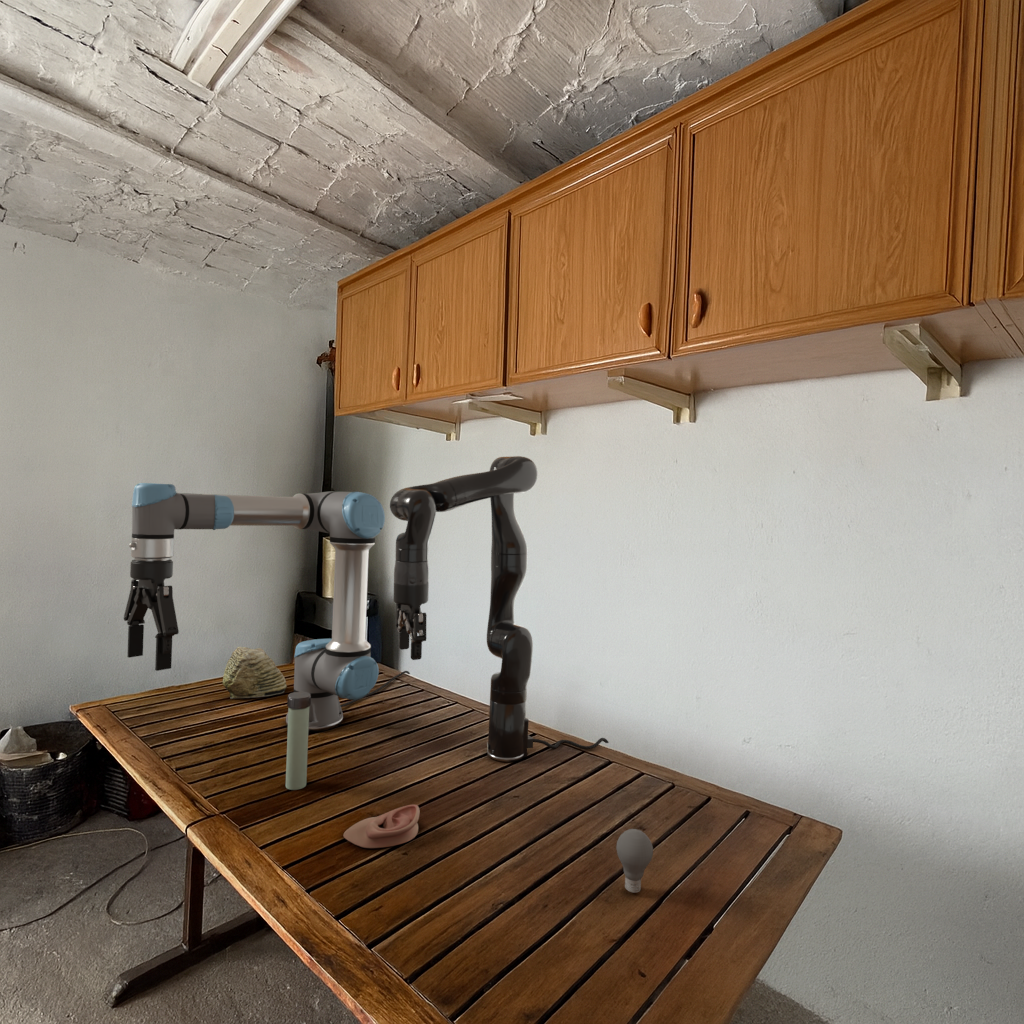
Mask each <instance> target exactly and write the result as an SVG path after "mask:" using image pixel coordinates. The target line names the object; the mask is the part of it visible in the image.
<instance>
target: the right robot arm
mask: <svg viewBox="0 0 1024 1024" xmlns="http://www.w3.org/2000/svg"><path fill="white" fill-rule="evenodd" d="M538 476H539V475H538V468H537V465H536V463H535V462H534V460H532V459H531V458H529V457H526V456H520V455H515V456H514V455H513V456H499V457H496V458H495V459H494V460H493V461H492V463H491V464H490V467H489V470H488V471H483V472H475V473H469V474H462V475H457V476H453V477H449V478H446V479H445V478H444V479H442V480H439V481H436V482H432V483H428V484H427V483H426V484H420V485H413V486H408V487H405V488H401V489H399V490H398V491H396V492H395V493H394V494H393V495H392V496H391V499H390V501H389V509H390V512H391V514H392V515H393V516H394V517H395V518H396V519H398V520H401V521H405V522H406V528H405V530H404V532H401V533H399V534H398V535H397V537H396V539H395V560H394V569H393V602H394V603H395V625H394V626H395V628H397V632H398V649H400V650H408V649H409V648H410V659H411V660H412V661H418V660H421V659H422V653H423V652H422V651H423V642H426V641H427V612H423V611H422V610H421V606H422V605H425V604H427V603H428V602H429V593H430V592H429V587H430V580H429V579H430V568H429V541H430V538H431V535H432V531H433V527H434V523H435V520H436V514H437V513H444V512H450V511H452V510H455V509H459V508H462V507H464V506H468V505H471V504H474V503H477V502H480V501H483V500H486V499H490V510H491V511H490V512H491V547H490V597H489V599H490V600H489V612H488V618H487V619H488V622H487V627H486V646H487V649H488V651H489V652H490V654H491V655H492V656H494V657H496V658H499V659H501V667H500V671H498V672H495V673H493V674H492V675H491V677H490V687H489V688H490V689H489V712H488V713H489V714H488V717H489V718H488V735H487V740H486V747H487V750H486V755H487V756H488V757H489V758H490V759H491V760H494V761H497V762H502V763H503V762H504V763H513V762H517V761H520V760H522V759H523V758H527V757H528V749H533V748H534V743H538V744H541V745H545V746H546V747H548V748H549V749H553V750H555V749H557V748H558V747H559V746H560V745H561V744H566V745H567V744H568V745H571V746H573V747H575V748H577V749H581V750H585V751H586V750H587V751H588V750H589V751H590V750H593V749H596V748H597V747H598V746H599V745H600V744H601V743H602V742H604V743H605V744H609V740H607V738H605V737H600V738H598V740H596V742H595V743H593V744H591V745H582V744H579V743H578V742H575V741H572V740H568V739H560V740H558V741H556V742H555V744H551V743H550V742H548V741H546V740H544V739H540V738H539V739H538V738H534V737H532V736H530V735H529V723H530V720H529V718H528V717H527V698H528V697H527V696H528V695H527V694H528V693H527V692H528V682H529V680H530V677H531V675H532V663H533V654H534V640H533V635H532V633H531V631H530V630H529V629H528V628H527V627H525V626H523V625H520V624H516V623H515V603H516V599H517V597H518V594H519V592H520V589H521V588H522V586H523V584H524V581H525V580H526V577H527V573H528V563H529V561H528V559H529V558H528V553H529V551H528V550H529V549H528V547H529V546H528V541H527V539H526V537H525V534H524V532H523V530H522V528H521V525H520V523H519V521H518V519H517V515H516V510H515V494H524V493H527V492H529V491H531V490H532V489H533V488H534V487H535V486H536V484H537V481H538V478H539V477H538Z"/></svg>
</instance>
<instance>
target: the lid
mask: <svg viewBox="0 0 1024 1024" xmlns="http://www.w3.org/2000/svg"><path fill="white" fill-rule="evenodd" d="M286 701H287V703H286V706H287V708H288V707H289V708H291V709H303V708H307V707H309V706H310V705H311V694H310V693H308V692H294V691H293V692H290V693H289V694H288V695H287V699H286Z"/></svg>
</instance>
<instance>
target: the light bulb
mask: <svg viewBox="0 0 1024 1024" xmlns="http://www.w3.org/2000/svg"><path fill="white" fill-rule="evenodd" d="M615 849H616V854H617V857H618V859H619V861H620V863H621V865H622V867H623V873H624V874H623V875H624V876H625V878H624V888H625V890H627V891H628V892H630V893H634V894H635V893H639V892H640V891H641V889H642V887H641V886H642V879H643V877H644V875H645V871H646V868H647V867H648V866H649V864H650V863H651V861H652V859H653V855H654V847H653V843H652V841H651V838H649V836H648V835H647V834H646V833H645V832H643V831H642V830H641V829H636V828H629V829H627V830H625V831H623V832H622V833H621V834H620V835H619V837H618V839H617V841H616V847H615Z"/></svg>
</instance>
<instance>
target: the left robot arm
mask: <svg viewBox="0 0 1024 1024" xmlns="http://www.w3.org/2000/svg"><path fill="white" fill-rule="evenodd" d="M385 515H386V513H385V511H384V508H383V505H382V503H381V502H380V501H379V500H378V498H377V497H375V495H373V494H370V493H367V492H363V491H362V492H361V491H337V490H336V491H335V490H333V491H332V490H330V491H321V492H311V493H295V494H294V495H293V496H276V495H275V496H274V495H273V496H272V495H248V494H247V495H246V494H244V495H243V494H220V493H219V494H218V493H217V494H216V493H215V494H214V493H189V492H187V493H186V492H177V491H176V486H175V485H174V484H173V483H152V482H139V483H137V484H136V485H135V486H134V488H133V492H132V501H131V520H132V521H131V542H130V543H128V547H129V548H130V549H131V550H130V556H131V558H133V559H132V560H131V561H130V567H129V568H130V571H129V574H130V575H129V576H130V578H131V581H130V590H129V594H128V598H127V603H126V607H125V610H124V615H123V621H124V622H126V624H127V626H128V629H127V630H128V631H127V658H135V657H142V656H144V635H145V634H144V630H145V625H144V624H145V623H146V621H145V619H144V618H145V616H146V615H147V612H148V609H149V610H151V613H152V618H153V620H154V624H155V627H156V631H157V633H156V635H155V636H154V638H155V661H154V663H155V665H154V668H155V669H154V670H155V671H157V672H159V671H164V670H169V669H172V659H173V657H172V655H173V637H175V636H176V635H179V632H180V631H179V625H178V619H177V615H176V614H177V613H176V609H175V603H174V597H173V595H174V593H173V585H165V580H167V579H171V578H172V577H173V575H174V573H173V572H174V561H173V560H172V559H171V558H173V557H174V554H175V553H174V552H175V530H213V531H215V530H224V529H228V528H230V526H233V527H234V526H237V527H238V526H240V527H243V526H246V527H247V526H249V527H250V526H258V527H259V526H268V527H269V526H276V527H277V526H282V527H284V526H285V527H286V526H287V527H288V526H289V527H290V526H291V527H293V528H294V529H296V530H308V531H309V530H310V531H316V532H319V533H325V534H329V544H330V545H331V546H332V547H333V548H334V550H335V551H334V572H333V573H334V577H333V599H332V625H331V626H332V627H331V638H317V639H308V640H304V641H300V642H299V643H297V645H296V646H295V650H294V655H293V657H294V672H293V673H294V674H293V693H294V692H308V693H310V694H311V705H310V706H309V728H308V733H316V732H325V731H329V730H332V729H335V728H337V727H339V726H340V725H342V723H343V722H344V714H343V709H342V708H343V707H346V706H350V705H351V704H354V703H356V702H359V701H360V700H362V699H365V698H367V697H370V696H372V695H374V694H376V693H378V692H379V691H381V690H382V689H384V688H386V686H388V685H389V684H391V682H393V681H394V680H395V679H397V678H399V677H401V676H402V675H404V674H407V675H411V673H410V671H409V670H404V671H401V672H400V673H401V674H400V673H398V674H396V675H395V676H393V677H392V678H391V679H389V680H388V681H386V682H385V683H384V684H383V685H381V686H380V687H378V688H376V689H375V690H372V689H374V687H375V685H376V683H377V682H378V678H379V674H380V672H379V671H380V670H379V669H380V668H379V665H378V663H377V662H376V660H375V659H374V657H371V652H372V649H371V648H372V644H371V643H370V642H368V640H367V639H366V631H367V607H368V606H367V605H368V604H367V602H368V582H369V581H368V579H369V555H370V553H369V552H370V550H371V548H372V547H374V545H375V544H376V536H378V535H379V534H380V533H381V530H383V528H384V526H385V522H386V521H385V520H386V516H385ZM371 690H372V691H371ZM339 698H341V699H342V700H343V699H344V700H348V701H347V702H345V703H342V704H341V702H340V699H339ZM349 700H350V701H349ZM285 726H286V728H288V712H287V713H286V715H285Z"/></svg>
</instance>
